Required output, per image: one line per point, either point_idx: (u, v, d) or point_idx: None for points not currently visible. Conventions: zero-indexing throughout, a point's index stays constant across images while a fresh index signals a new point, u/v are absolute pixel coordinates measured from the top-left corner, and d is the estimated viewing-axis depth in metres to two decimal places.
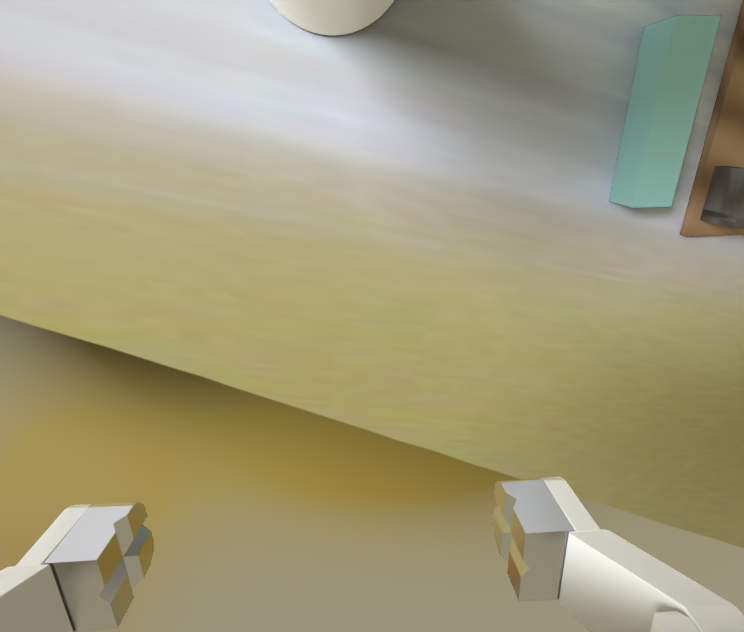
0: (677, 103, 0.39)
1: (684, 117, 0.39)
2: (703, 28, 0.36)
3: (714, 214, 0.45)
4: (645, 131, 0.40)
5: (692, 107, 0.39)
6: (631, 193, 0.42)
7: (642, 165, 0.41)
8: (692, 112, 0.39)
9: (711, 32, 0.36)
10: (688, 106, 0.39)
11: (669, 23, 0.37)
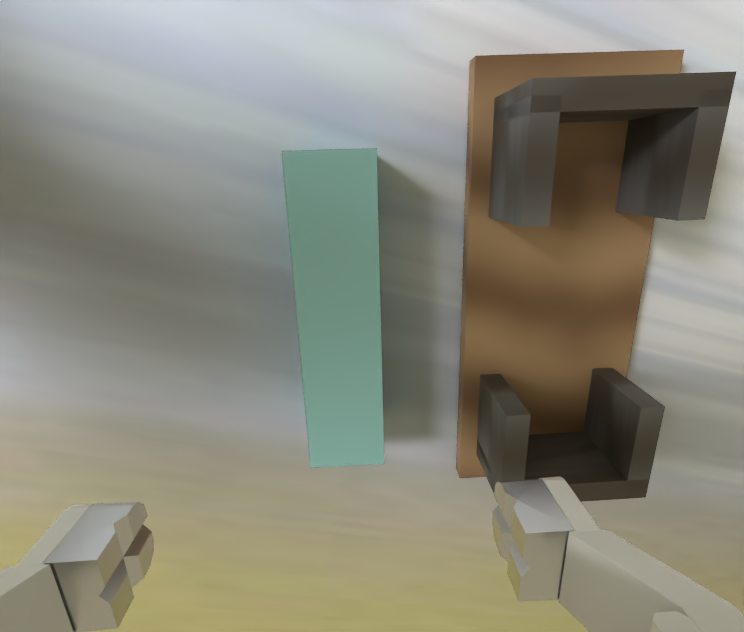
0: (339, 301, 0.20)
1: (361, 324, 0.20)
2: (347, 172, 0.18)
3: (485, 459, 0.25)
4: None
5: (371, 308, 0.20)
6: None
7: (306, 402, 0.22)
8: (373, 315, 0.20)
9: (365, 179, 0.18)
10: (361, 305, 0.20)
11: None
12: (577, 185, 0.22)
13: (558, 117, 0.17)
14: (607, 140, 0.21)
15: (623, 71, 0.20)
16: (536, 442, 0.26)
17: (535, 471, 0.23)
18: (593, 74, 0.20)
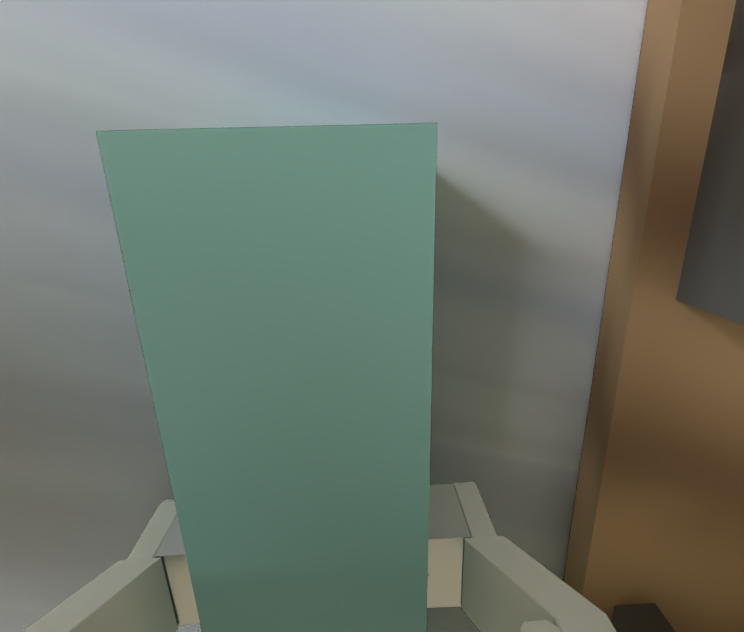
0: (313, 560, 0.07)
1: (373, 608, 0.07)
2: (332, 206, 0.05)
3: None
4: None
5: (401, 573, 0.07)
6: None
7: None
8: (406, 589, 0.07)
9: (393, 231, 0.05)
10: (376, 568, 0.07)
11: None
12: None
13: None
14: None
15: None
16: None
17: None
18: None
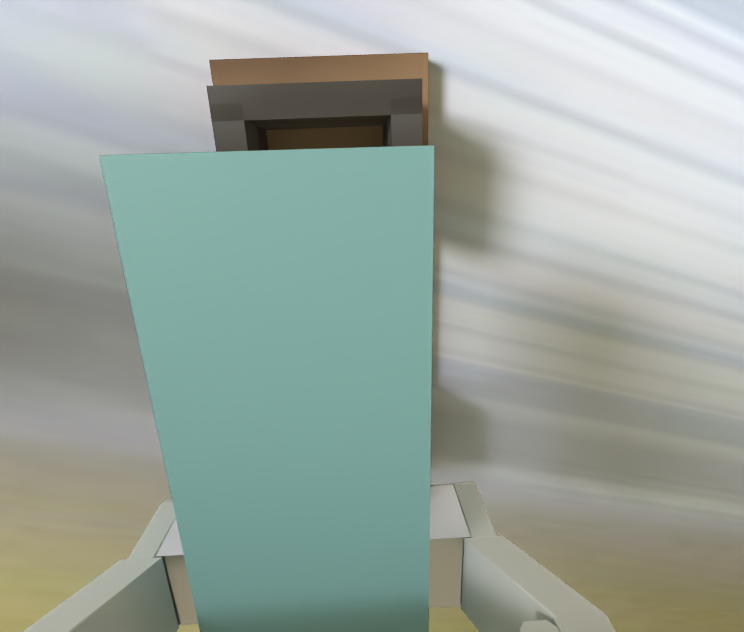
0: (314, 575, 0.07)
1: (375, 623, 0.07)
2: (332, 227, 0.05)
3: None
4: None
5: (403, 587, 0.07)
6: None
7: None
8: (408, 604, 0.07)
9: (393, 250, 0.06)
10: (377, 582, 0.07)
11: None
12: None
13: (243, 126, 0.16)
14: (364, 146, 0.21)
15: (368, 75, 0.20)
16: None
17: None
18: (336, 78, 0.20)
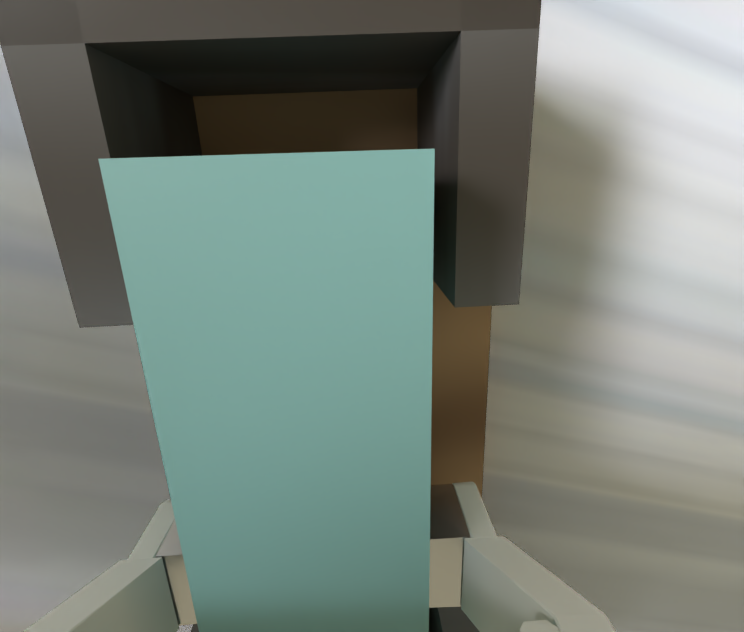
0: (313, 579, 0.07)
1: (374, 626, 0.07)
2: (332, 230, 0.05)
3: None
4: None
5: (403, 590, 0.07)
6: None
7: None
8: (408, 607, 0.07)
9: (393, 253, 0.05)
10: (377, 585, 0.07)
11: None
12: None
13: (86, 59, 0.06)
14: (381, 128, 0.11)
15: None
16: None
17: None
18: None
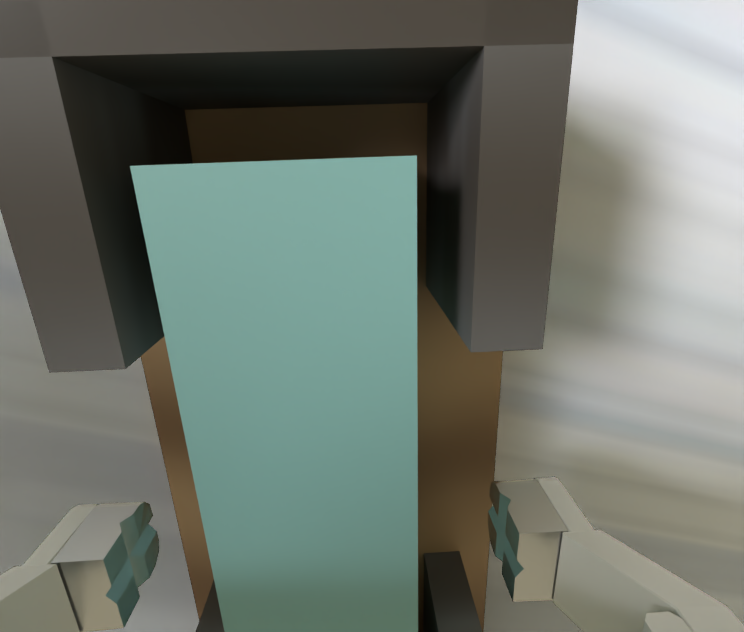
0: (316, 534, 0.08)
1: (369, 578, 0.08)
2: (329, 226, 0.06)
3: None
4: None
5: (394, 545, 0.08)
6: None
7: None
8: (399, 560, 0.08)
9: (382, 246, 0.06)
10: (372, 541, 0.08)
11: None
12: None
13: (54, 74, 0.05)
14: (387, 145, 0.10)
15: None
16: None
17: None
18: None
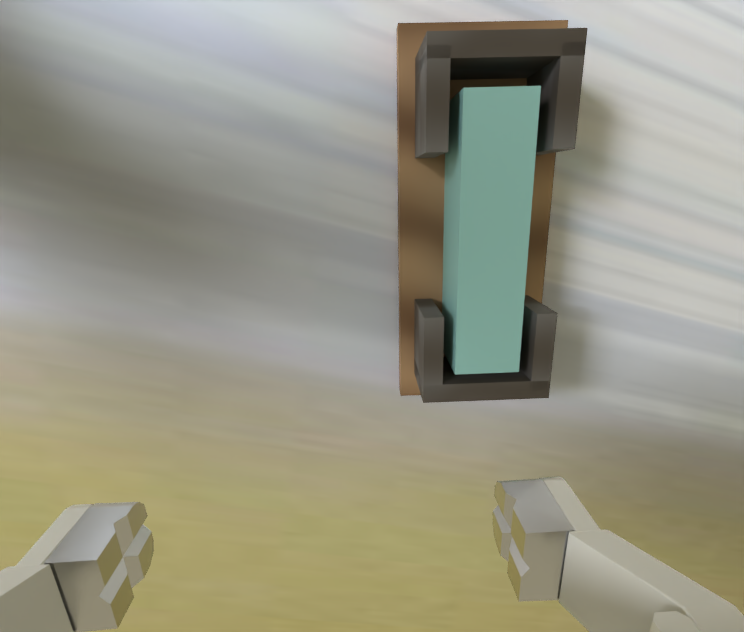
0: (496, 219, 0.24)
1: (512, 240, 0.24)
2: (514, 106, 0.22)
3: (417, 371, 0.29)
4: (456, 260, 0.25)
5: (522, 225, 0.24)
6: (453, 351, 0.26)
7: (458, 312, 0.25)
8: (523, 233, 0.24)
9: (529, 112, 0.22)
10: (514, 223, 0.24)
11: (460, 99, 0.22)
12: None
13: (449, 62, 0.21)
14: None
15: None
16: None
17: (456, 376, 0.28)
18: None
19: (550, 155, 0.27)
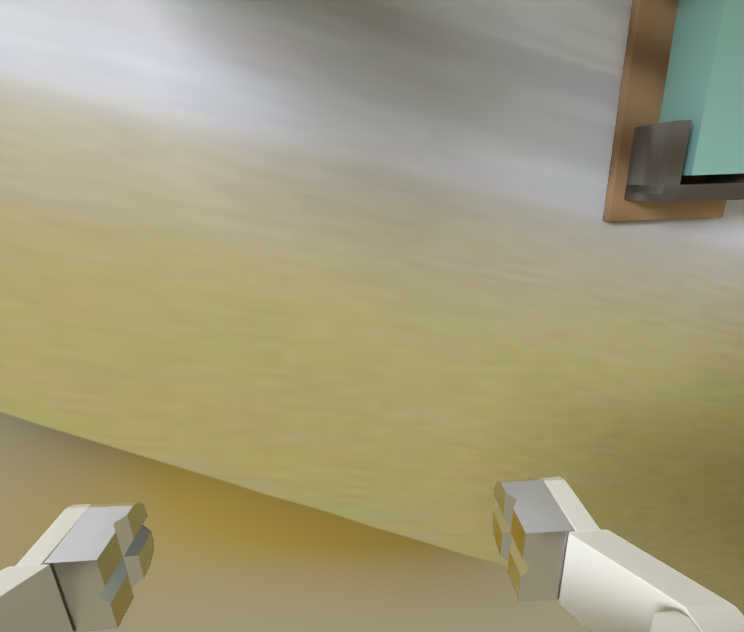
0: None
1: None
2: None
3: (638, 188, 0.34)
4: (705, 69, 0.29)
5: None
6: (688, 156, 0.31)
7: (704, 115, 0.30)
8: None
9: None
10: None
11: None
12: None
13: None
14: None
15: None
16: None
17: (682, 184, 0.32)
18: None
19: None
